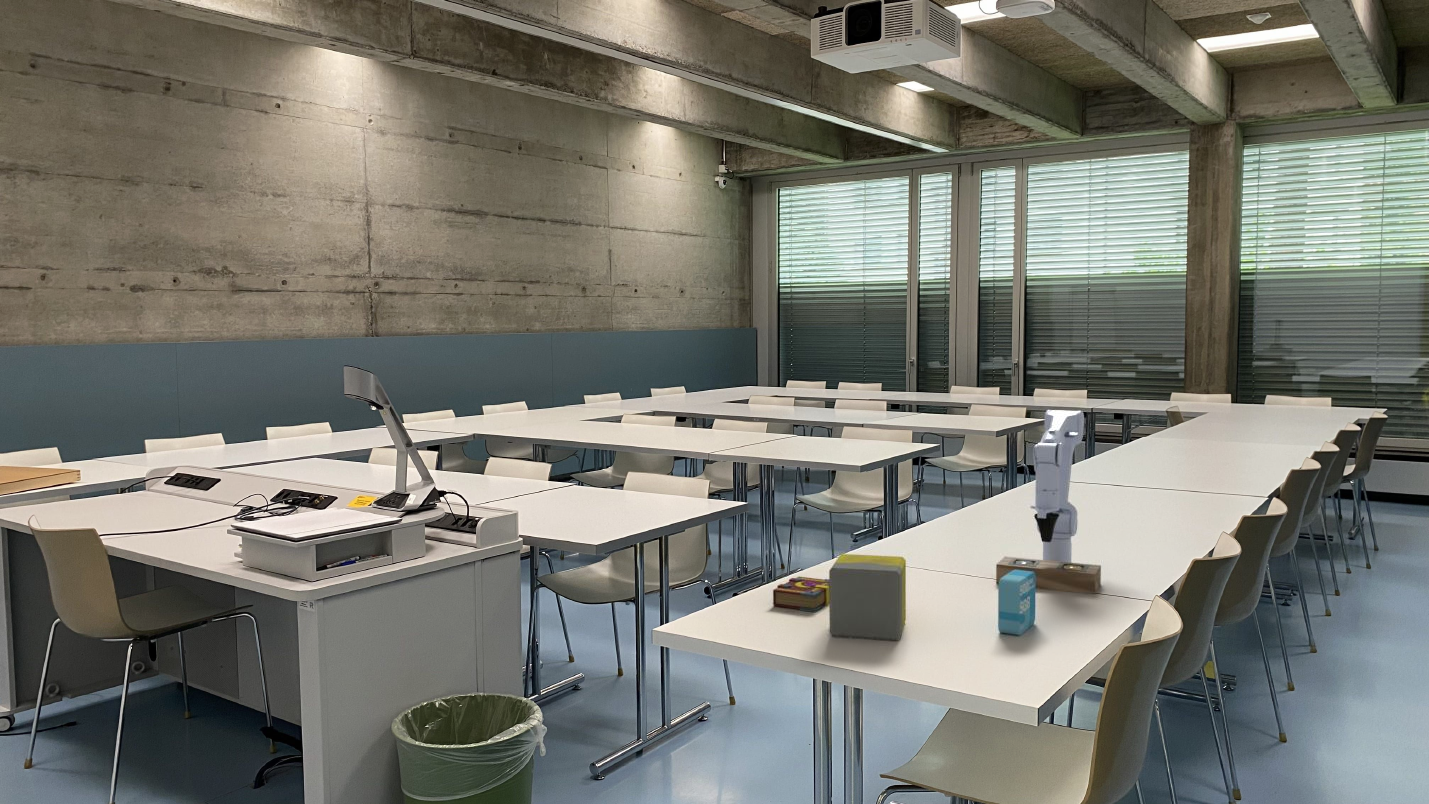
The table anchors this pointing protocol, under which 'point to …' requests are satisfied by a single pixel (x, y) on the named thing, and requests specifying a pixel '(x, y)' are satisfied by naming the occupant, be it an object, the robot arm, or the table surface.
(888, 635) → the yellow-topped grey cube
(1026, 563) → the steel peg
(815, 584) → the decorative book
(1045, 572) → the wooden block
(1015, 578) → the data package
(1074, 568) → the brass peg
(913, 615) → the table surface
